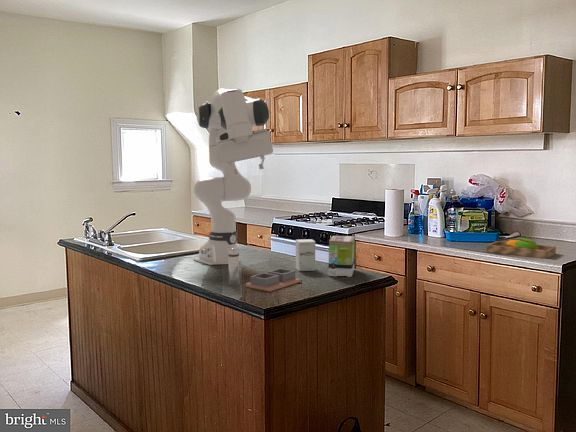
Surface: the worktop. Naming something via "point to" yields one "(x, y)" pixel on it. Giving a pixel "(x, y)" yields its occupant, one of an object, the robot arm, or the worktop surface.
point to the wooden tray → (521, 250)
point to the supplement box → (305, 255)
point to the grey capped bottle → (233, 266)
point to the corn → (522, 244)
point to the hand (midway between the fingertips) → (248, 171)
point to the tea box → (341, 256)
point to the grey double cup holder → (273, 280)
